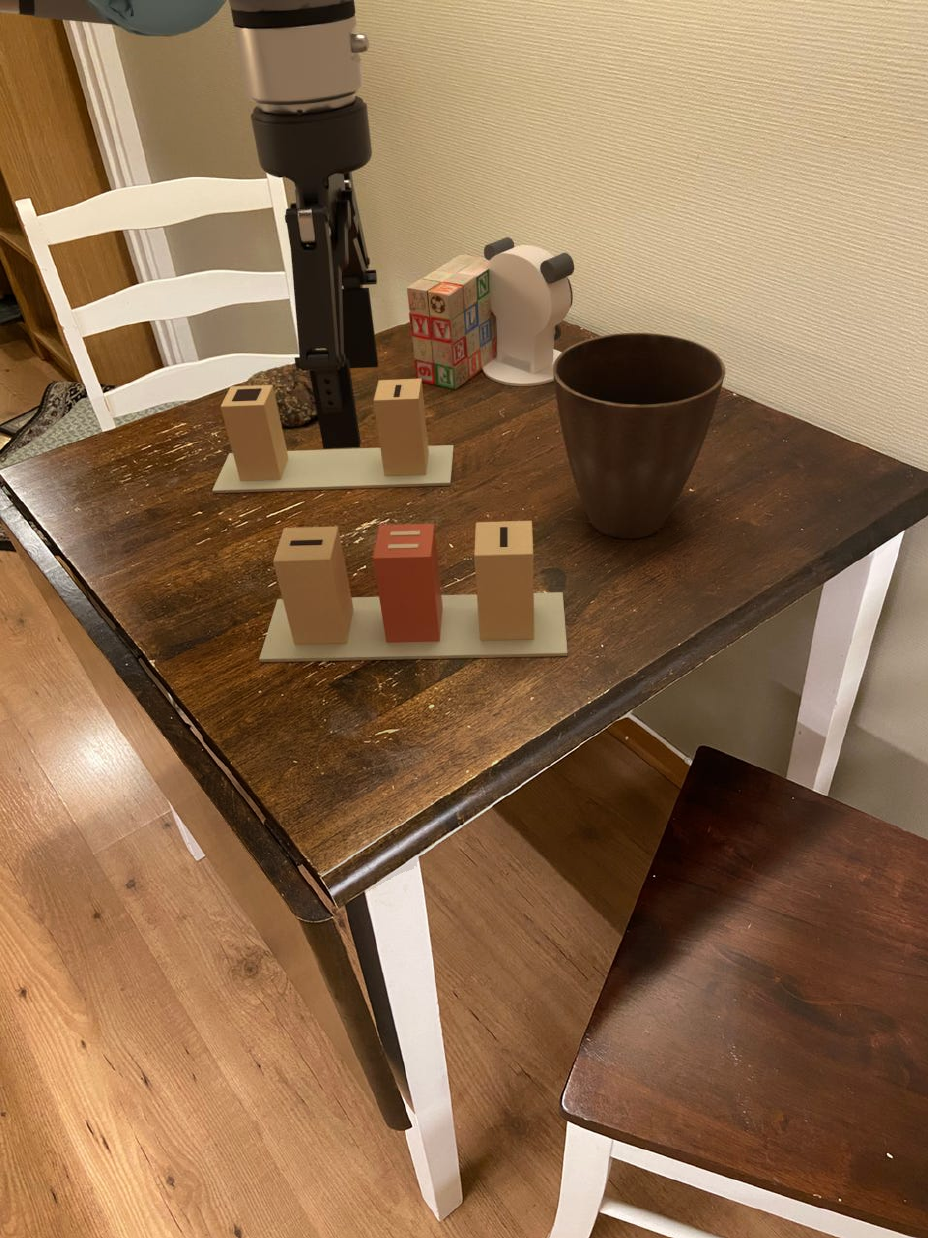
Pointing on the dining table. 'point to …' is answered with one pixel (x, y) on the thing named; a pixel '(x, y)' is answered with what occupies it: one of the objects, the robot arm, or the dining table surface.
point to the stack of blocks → (452, 322)
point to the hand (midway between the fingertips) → (353, 403)
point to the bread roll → (289, 393)
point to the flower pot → (634, 424)
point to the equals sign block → (408, 582)
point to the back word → (274, 468)
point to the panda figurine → (526, 310)
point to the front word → (471, 624)
